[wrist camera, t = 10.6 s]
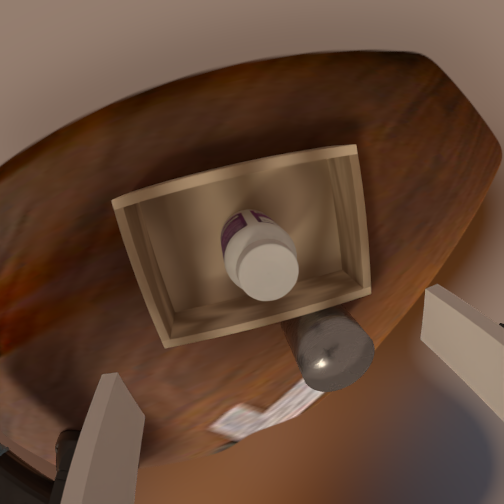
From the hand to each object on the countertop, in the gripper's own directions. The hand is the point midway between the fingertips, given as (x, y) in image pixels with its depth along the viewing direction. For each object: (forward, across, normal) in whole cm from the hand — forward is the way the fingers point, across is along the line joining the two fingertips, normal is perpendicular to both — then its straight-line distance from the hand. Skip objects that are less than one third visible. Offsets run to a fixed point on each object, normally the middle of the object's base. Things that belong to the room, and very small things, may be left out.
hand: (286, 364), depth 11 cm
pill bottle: (+18, +1, 0) cm, 18 cm away
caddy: (+19, +1, 0) cm, 19 cm away
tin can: (+19, +6, -11) cm, 23 cm away
